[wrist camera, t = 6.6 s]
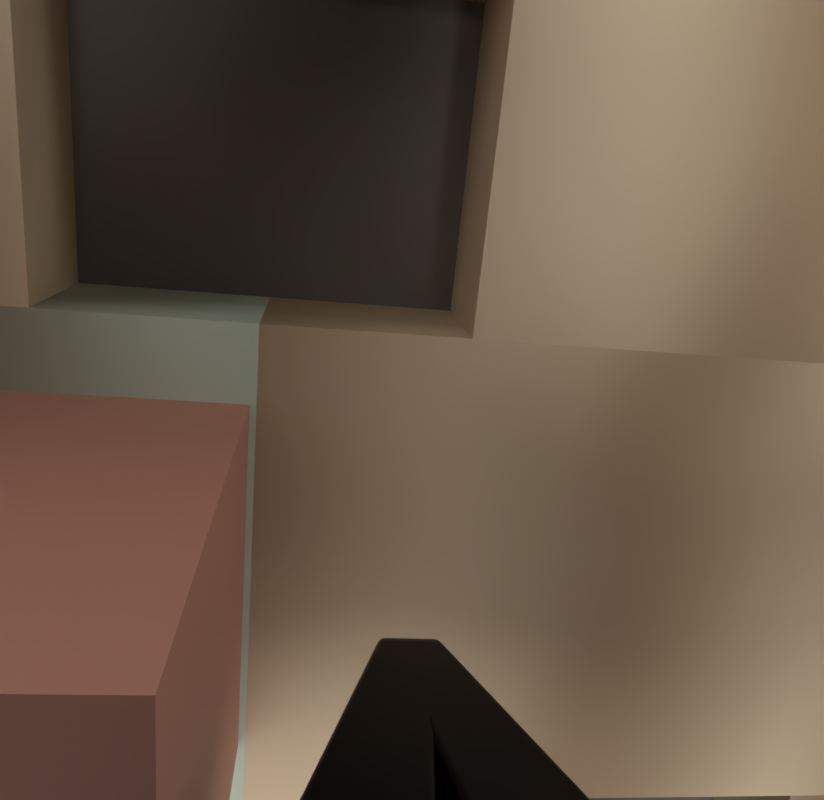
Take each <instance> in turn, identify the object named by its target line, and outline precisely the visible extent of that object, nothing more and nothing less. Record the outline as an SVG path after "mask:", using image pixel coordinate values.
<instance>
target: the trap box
mask: <svg viewBox="0 0 824 800" xmlns="http://www.w3.org/2000/svg"><path fill="white" fill-rule="evenodd" d="M0 390H10V391H27V392H43V393H60V394H77V395H94V396H110V397H127V398H144V399H161V400H178V401H194V402H211V403H228V404H245V405H250V406H249V436H248V465H247V495H246V524H245V554H244V583H243V612H242V642H241V671H240V701H239V730H238V748H237V755H236V761H235V767H234V774H233V780H232V787H231V793H230V799H229V800H300V798H301V796H302V794H303V792H304V790H305V788H306V786H307V784H308V782H309V780H310V778H311V776H312V774H313V772H314V770H315V768H316V766H317V764H318V762H319V760H320V758H321V756H322V754H323V752H324V750H325V748H326V746H327V744H328V742H329V740H330V738H331V736H332V734H333V732H334V730H335V728H336V726H337V724H338V722H339V720H340V718H341V715H342V713H343V711H344V709H345V707H346V705H347V703H348V701H349V699H350V697H351V695H352V693H353V691H354V689H355V687H356V685H357V683H358V681H359V679H360V677H361V675H362V673H363V671H364V669H365V667H366V665H367V663H368V661H369V659H370V657H371V655H372V653H373V651H374V649H375V647H376V645H377V643H378V641H379V640H380V639H382V638H412V639H437V640H438V641H440V642H441V643H442V644H443V645H444V646H445V647H446V648H447V649H448V650H449V651H450V652H451V653H452V654H453V655H454V656H455V657H456V658H457V660H458V661H459V662H460V663H461V664H462V665H463V666H464V667H465V668H466V669H467V670H468V671H469V672H470V673H471V674H472V675H473V676H474V677H475V679H476V680H477V681H478V682H479V683H480V684H481V685H482V686H483V687H484V688H485V689H486V690H487V691H488V692H489V693H490V694H491V695H492V696H493V697H494V699H495V700H496V701H497V702H498V703H499V704H500V705H501V706H502V707H503V708H504V709H505V710H506V711H507V712H508V713H509V714H510V715H511V716H512V718H513V719H514V720H515V721H516V722H517V723H518V724H519V725H520V726H521V727H522V728H523V729H524V730H525V731H526V732H527V733H528V734H529V735H530V737H531V738H532V739H533V740H534V741H535V742H536V743H537V744H538V745H539V746H540V747H541V748H542V749H543V750H544V751H545V752H546V753H547V754H548V756H549V757H550V758H551V759H552V760H553V761H554V762H555V763H556V764H557V765H558V766H559V767H560V768H561V769H562V770H563V771H564V772H565V773H566V775H567V776H568V777H569V778H570V779H571V780H572V781H573V782H574V783H575V784H576V785H577V786H578V787H579V788H580V789H581V790H582V791H583V792H584V794H585V795H586V796H587V797H588V798H589V799H590V800H824V0H0Z"/></svg>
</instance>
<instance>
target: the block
mask: <svg viewBox="0 0 824 800" xmlns="http://www.w3.org/2000/svg"><path fill="white" fill-rule="evenodd" d="M249 406H250V405H245V404H228V403H211V402H194V401H178V400H161V399H144V398H127V397H110V396H94V395H77V394H60V393H43V392H27V391H10V390H0V800H229V799H230V793H231V787H232V780H233V774H234V767H235V761H236V755H237V748H238V730H239V701H240V671H241V642H242V612H243V583H244V554H245V524H246V495H247V465H248V436H249Z"/></svg>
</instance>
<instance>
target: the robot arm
mask: <svg viewBox="0 0 824 800" xmlns="http://www.w3.org/2000/svg"><path fill="white" fill-rule="evenodd" d="M300 800H590V799H589V798H588V797H587V796H586V795H585V794H584V792H583V791H582V790H581V789H580V788H579V787H578V786H577V785H576V784H575V783H574V782H573V781H572V780H571V779H570V778H569V777H568V776H567V775H566V773H565V772H564V771H563V770H562V769H561V768H560V767H559V766H558V765H557V764H556V763H555V762H554V761H553V760H552V759H551V758H550V757H549V756H548V754H547V753H546V752H545V751H544V750H543V749H542V748H541V747H540V746H539V745H538V744H537V743H536V742H535V741H534V740H533V739H532V738H531V737H530V735H529V734H528V733H527V732H526V731H525V730H524V729H523V728H522V727H521V726H520V725H519V724H518V723H517V722H516V721H515V720H514V719H513V718H512V716H511V715H510V714H509V713H508V712H507V711H506V710H505V709H504V708H503V707H502V706H501V705H500V704H499V703H498V702H497V701H496V700H495V699H494V697H493V696H492V695H491V694H490V693H489V692H488V691H487V690H486V689H485V688H484V687H483V686H482V685H481V684H480V683H479V682H478V681H477V680H476V679H475V677H474V676H473V675H472V674H471V673H470V672H469V671H468V670H467V669H466V668H465V667H464V666H463V665H462V664H461V663H460V662H459V661H458V660H457V658H456V657H455V656H454V655H453V654H452V653H451V652H450V651H449V650H448V649H447V648H446V647H445V646H444V645H443V644H442V643H441V642H440V641H438V640H437V639H412V638H382V639H380V640H379V641H378V643H377V645H376V647H375V649H374V651H373V653H372V655H371V657H370V659H369V661H368V663H367V665H366V667H365V669H364V671H363V673H362V675H361V677H360V679H359V681H358V683H357V685H356V687H355V689H354V691H353V693H352V695H351V697H350V699H349V701H348V703H347V705H346V707H345V709H344V711H343V713H342V715H341V718H340V720H339V722H338V724H337V726H336V728H335V730H334V732H333V734H332V736H331V738H330V740H329V742H328V744H327V746H326V748H325V750H324V752H323V754H322V756H321V758H320V760H319V762H318V764H317V766H316V768H315V770H314V772H313V774H312V776H311V778H310V780H309V782H308V784H307V786H306V788H305V790H304V792H303V794H302V796H301V798H300Z"/></svg>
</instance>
